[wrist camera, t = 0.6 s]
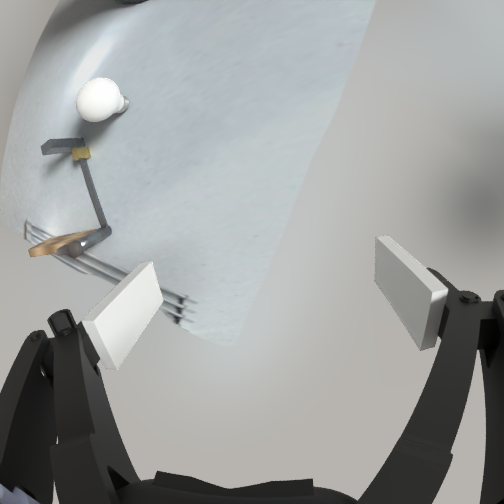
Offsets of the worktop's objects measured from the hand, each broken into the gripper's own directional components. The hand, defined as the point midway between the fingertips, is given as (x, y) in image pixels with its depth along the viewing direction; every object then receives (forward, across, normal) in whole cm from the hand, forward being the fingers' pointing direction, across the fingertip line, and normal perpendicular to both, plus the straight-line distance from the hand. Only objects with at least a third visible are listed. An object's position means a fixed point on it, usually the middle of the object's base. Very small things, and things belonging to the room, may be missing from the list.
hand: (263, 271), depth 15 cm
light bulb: (+27, -21, +19) cm, 39 cm away
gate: (+26, -36, -1) cm, 44 cm away
